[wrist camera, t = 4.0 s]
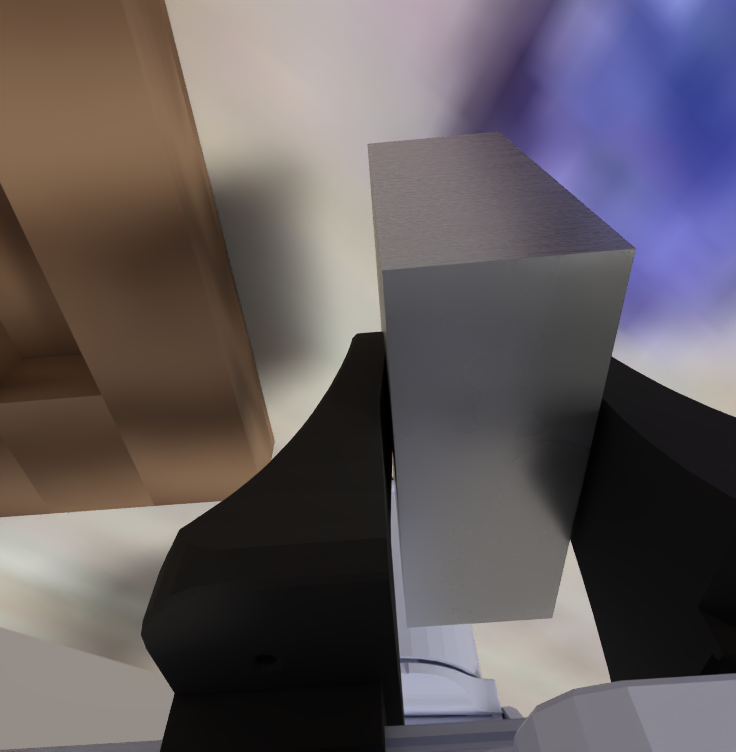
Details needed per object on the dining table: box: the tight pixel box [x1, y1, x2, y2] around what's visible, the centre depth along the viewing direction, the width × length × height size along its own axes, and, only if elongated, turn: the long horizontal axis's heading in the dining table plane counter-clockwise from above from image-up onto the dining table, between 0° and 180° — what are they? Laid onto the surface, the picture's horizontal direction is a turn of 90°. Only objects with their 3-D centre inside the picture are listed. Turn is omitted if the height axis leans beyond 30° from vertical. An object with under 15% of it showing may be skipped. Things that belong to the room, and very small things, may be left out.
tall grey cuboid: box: [368, 132, 636, 628], centre depth 11 cm, size 8×3×7 cm, turn 5°
